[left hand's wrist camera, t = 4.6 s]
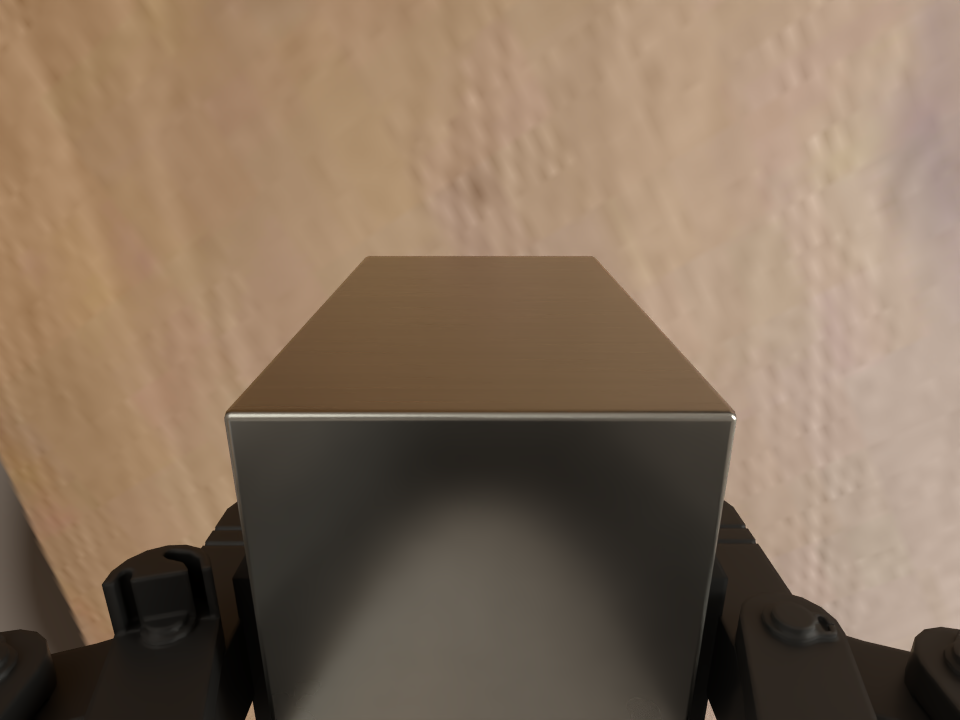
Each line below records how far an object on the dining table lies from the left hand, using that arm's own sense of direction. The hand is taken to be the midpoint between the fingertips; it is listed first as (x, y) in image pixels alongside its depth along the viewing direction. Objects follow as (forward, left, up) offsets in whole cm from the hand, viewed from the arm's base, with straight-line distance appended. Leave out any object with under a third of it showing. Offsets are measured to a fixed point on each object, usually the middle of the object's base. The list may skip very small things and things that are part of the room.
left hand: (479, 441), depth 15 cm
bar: (+8, 0, -1) cm, 8 cm away
